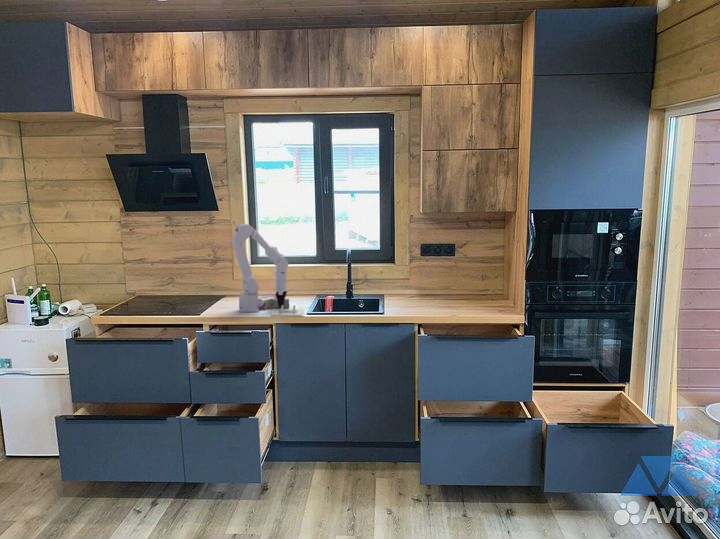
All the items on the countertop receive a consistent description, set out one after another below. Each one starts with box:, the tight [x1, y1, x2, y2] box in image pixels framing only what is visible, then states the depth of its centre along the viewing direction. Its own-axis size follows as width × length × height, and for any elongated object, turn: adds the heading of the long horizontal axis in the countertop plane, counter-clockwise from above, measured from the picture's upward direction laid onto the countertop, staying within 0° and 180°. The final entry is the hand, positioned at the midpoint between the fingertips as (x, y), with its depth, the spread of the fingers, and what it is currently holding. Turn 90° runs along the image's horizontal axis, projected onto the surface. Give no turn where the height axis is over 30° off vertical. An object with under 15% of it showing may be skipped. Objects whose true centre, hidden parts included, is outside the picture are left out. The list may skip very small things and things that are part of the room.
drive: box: [272, 298, 290, 310], centre depth 282 cm, size 8×4×5 cm, turn 95°
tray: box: [270, 305, 305, 317], centre depth 271 cm, size 16×14×3 cm
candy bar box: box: [258, 293, 277, 310], centre depth 288 cm, size 11×5×16 cm
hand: (281, 306), depth 282 cm, fingers closed on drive, 4 cm apart
